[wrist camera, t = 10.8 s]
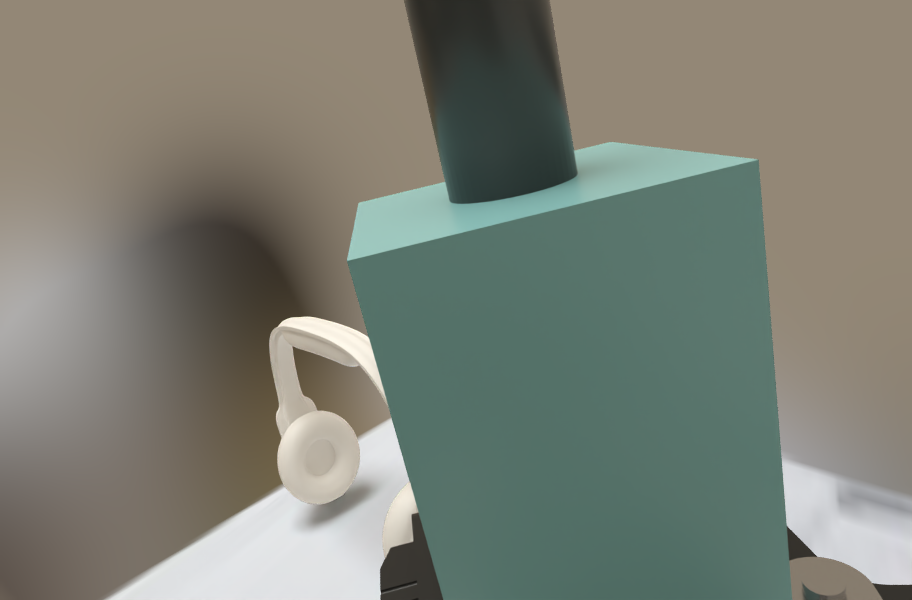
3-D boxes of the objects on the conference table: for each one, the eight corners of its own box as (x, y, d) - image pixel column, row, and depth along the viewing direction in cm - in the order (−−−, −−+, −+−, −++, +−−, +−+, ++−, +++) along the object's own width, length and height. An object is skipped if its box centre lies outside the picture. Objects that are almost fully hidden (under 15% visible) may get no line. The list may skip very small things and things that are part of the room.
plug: (605, 1169, 11) (93, -632, 4) (544, 889, 14) (230, -270, 8) (830, 1095, 11) (690, -737, 4) (711, 839, 15) (541, -333, 8)
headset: (287, 521, 52) (214, 320, 46) (359, 476, 56) (300, 287, 50) (434, 653, 36) (351, 376, 31) (520, 578, 40) (460, 321, 35)
